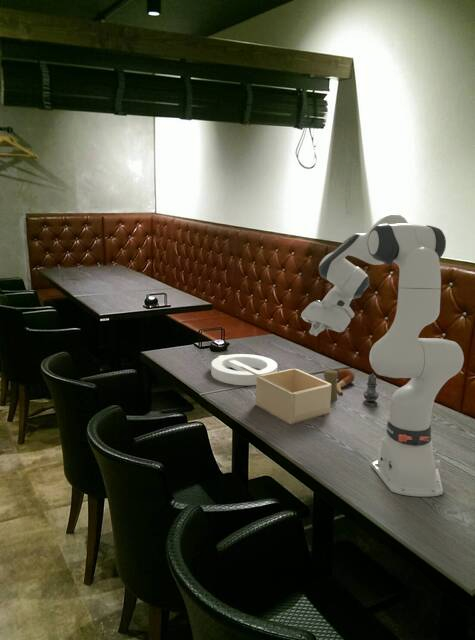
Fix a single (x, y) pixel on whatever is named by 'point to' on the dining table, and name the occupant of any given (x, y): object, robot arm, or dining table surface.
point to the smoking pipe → (344, 379)
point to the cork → (332, 382)
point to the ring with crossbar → (241, 375)
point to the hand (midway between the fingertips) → (312, 334)
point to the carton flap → (265, 379)
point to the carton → (293, 395)
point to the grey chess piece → (371, 391)
